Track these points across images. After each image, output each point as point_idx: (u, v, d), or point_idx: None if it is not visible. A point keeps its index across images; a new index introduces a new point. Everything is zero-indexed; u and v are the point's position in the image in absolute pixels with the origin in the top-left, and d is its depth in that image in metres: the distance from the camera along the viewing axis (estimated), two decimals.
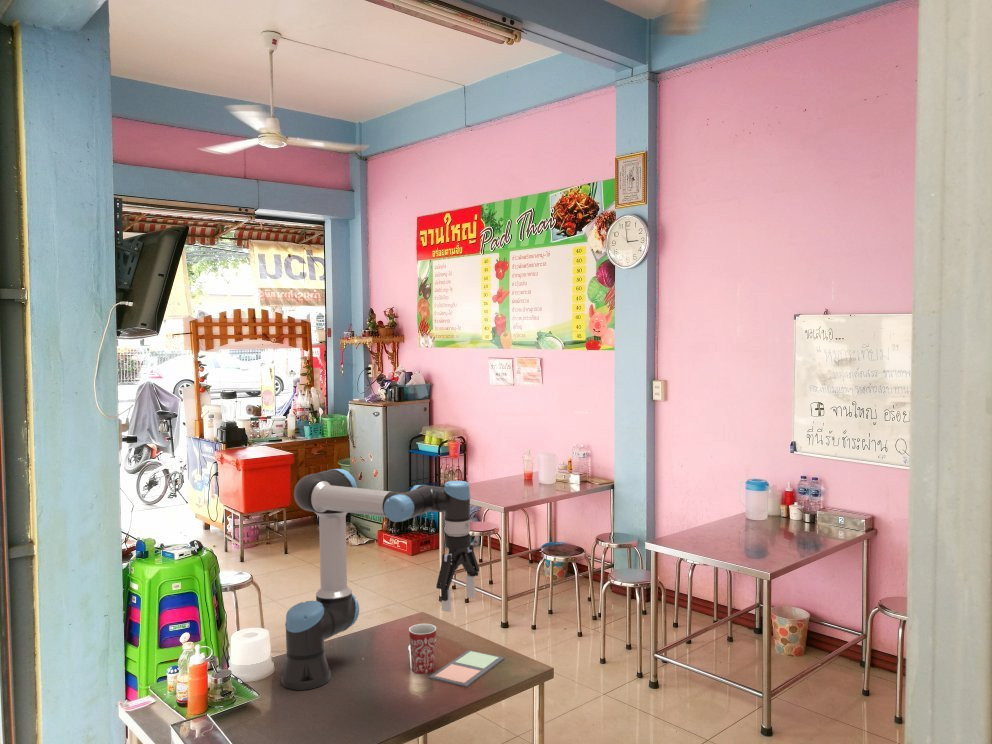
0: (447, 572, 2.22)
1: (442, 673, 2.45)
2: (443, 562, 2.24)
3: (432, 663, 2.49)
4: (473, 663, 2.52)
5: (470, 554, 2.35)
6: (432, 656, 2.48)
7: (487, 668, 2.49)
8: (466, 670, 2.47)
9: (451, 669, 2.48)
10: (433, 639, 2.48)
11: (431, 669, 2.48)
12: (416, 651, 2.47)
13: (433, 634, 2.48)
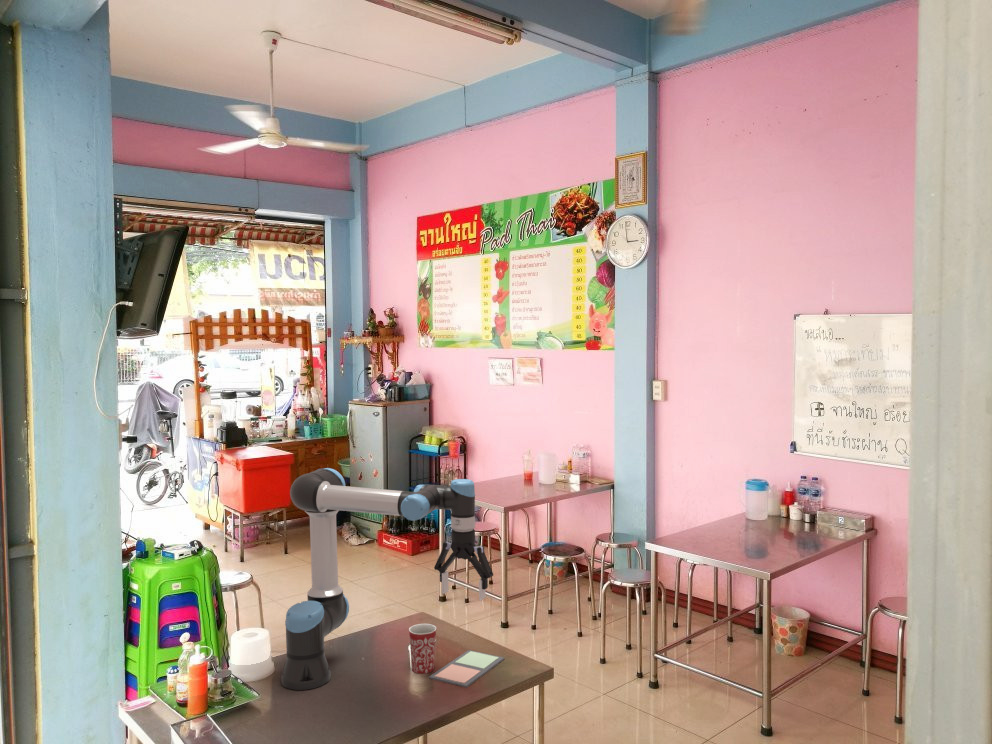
0: (440, 556, 2.45)
1: (442, 673, 2.45)
2: None
3: (432, 663, 2.49)
4: (473, 663, 2.52)
5: None
6: (432, 656, 2.48)
7: (487, 668, 2.49)
8: (466, 670, 2.47)
9: (451, 669, 2.48)
10: (433, 639, 2.48)
11: (431, 669, 2.48)
12: (416, 651, 2.47)
13: (433, 634, 2.48)
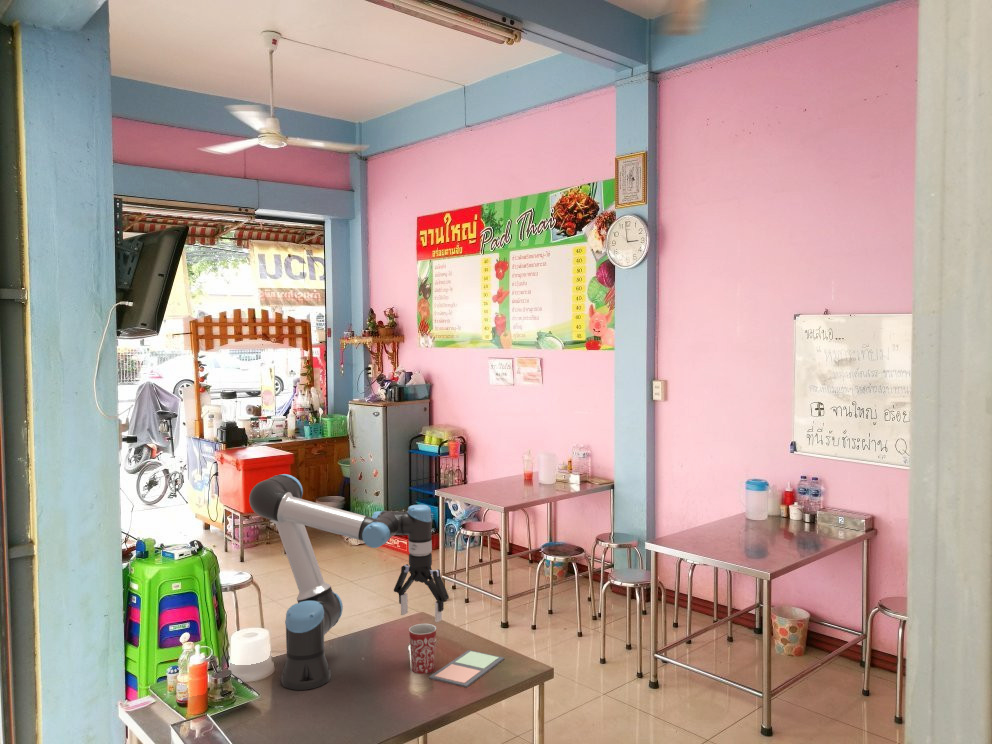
0: (399, 579, 2.54)
1: (442, 673, 2.45)
2: None
3: (432, 663, 2.49)
4: (473, 663, 2.52)
5: None
6: (432, 656, 2.48)
7: (487, 668, 2.49)
8: (466, 670, 2.47)
9: (451, 669, 2.48)
10: (433, 639, 2.48)
11: (431, 669, 2.48)
12: (416, 651, 2.47)
13: (433, 634, 2.48)
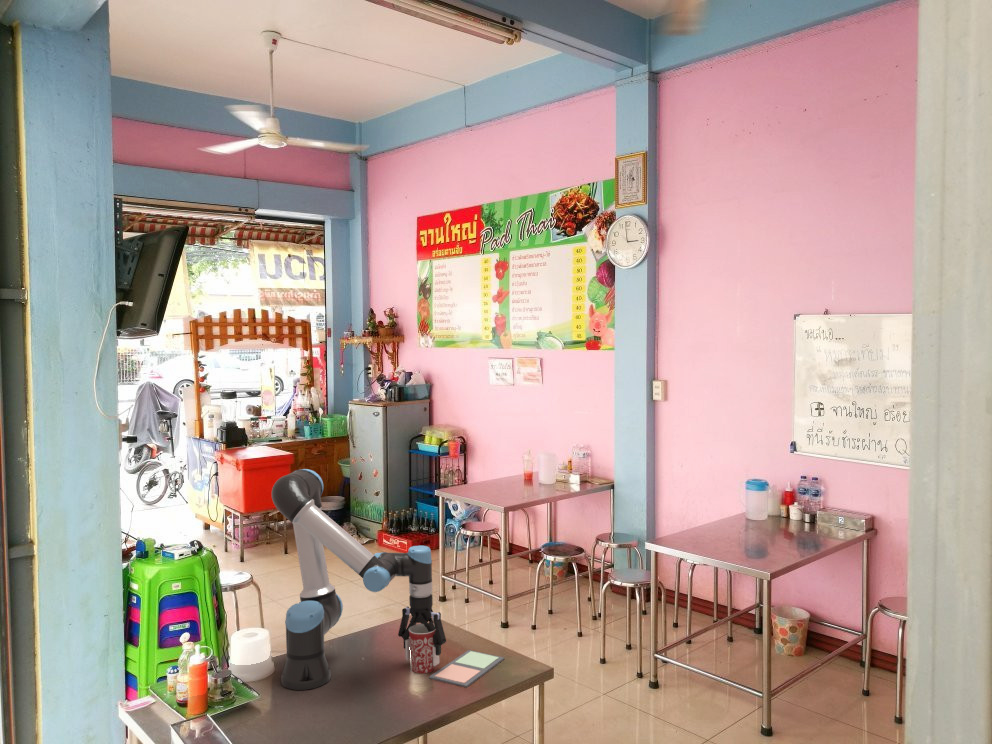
0: (402, 623, 2.54)
1: (442, 673, 2.45)
2: None
3: (432, 663, 2.49)
4: (473, 663, 2.52)
5: None
6: (432, 656, 2.48)
7: (487, 668, 2.49)
8: (466, 670, 2.47)
9: (451, 669, 2.48)
10: None
11: (431, 669, 2.48)
12: (416, 651, 2.47)
13: (433, 634, 2.48)
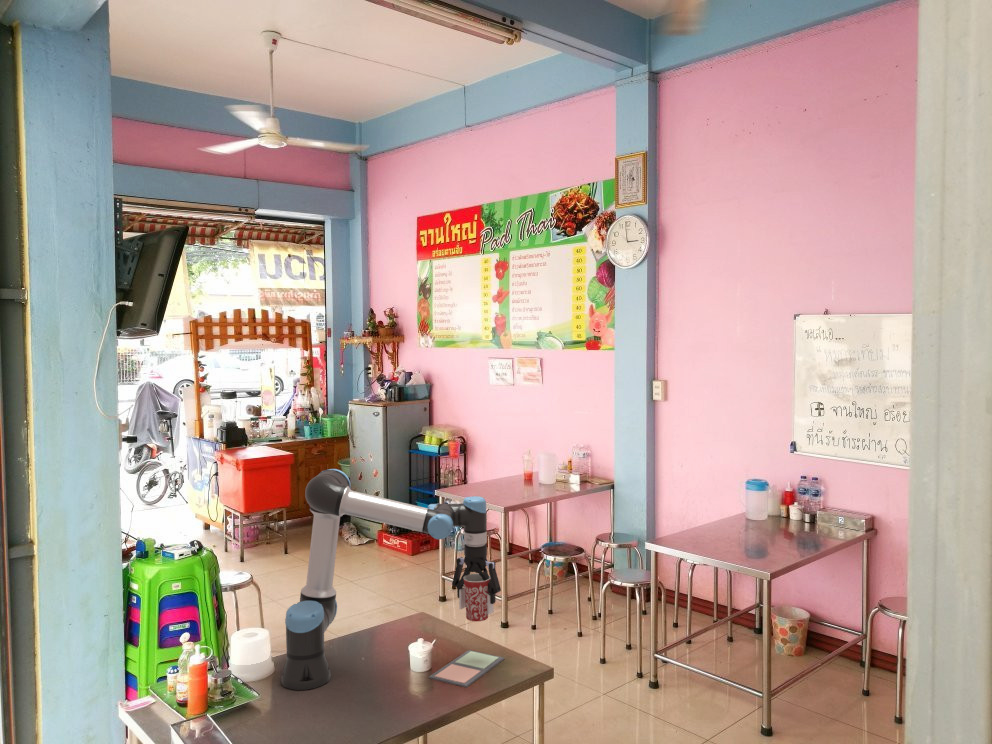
0: (456, 572, 2.57)
1: (442, 673, 2.45)
2: None
3: (486, 611, 2.52)
4: (473, 663, 2.52)
5: None
6: None
7: (487, 668, 2.49)
8: (466, 670, 2.47)
9: (451, 669, 2.48)
10: None
11: (486, 617, 2.51)
12: (471, 599, 2.50)
13: (488, 582, 2.51)
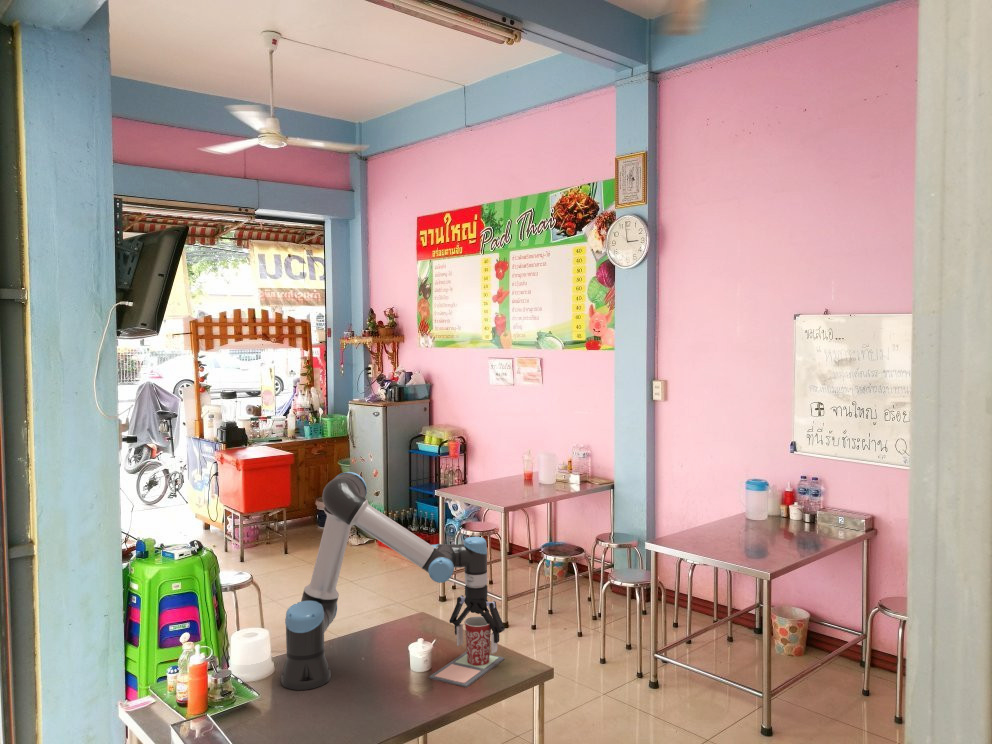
0: (455, 610, 2.58)
1: (442, 673, 2.45)
2: None
3: (488, 655, 2.52)
4: None
5: None
6: (488, 648, 2.52)
7: (487, 668, 2.49)
8: (466, 670, 2.47)
9: (451, 669, 2.48)
10: (489, 631, 2.52)
11: (487, 661, 2.52)
12: (472, 643, 2.50)
13: None
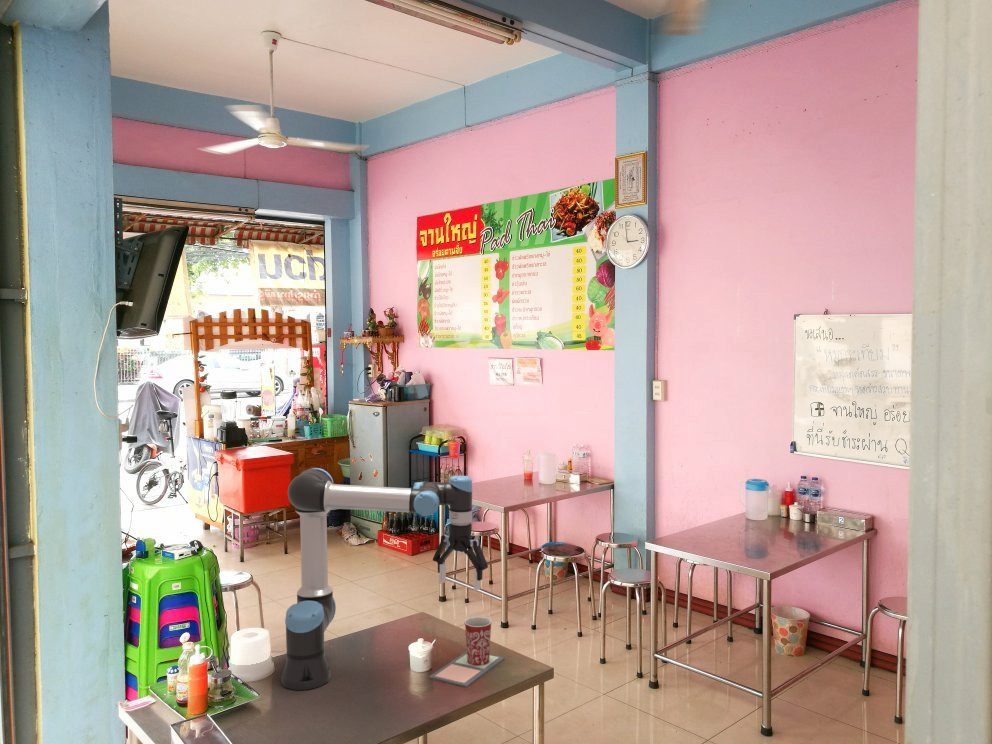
0: (438, 548, 2.58)
1: (442, 673, 2.45)
2: None
3: (488, 655, 2.52)
4: None
5: None
6: (488, 648, 2.52)
7: (487, 668, 2.49)
8: (466, 670, 2.47)
9: (451, 669, 2.48)
10: (489, 632, 2.52)
11: (487, 661, 2.52)
12: (472, 643, 2.50)
13: (489, 627, 2.52)
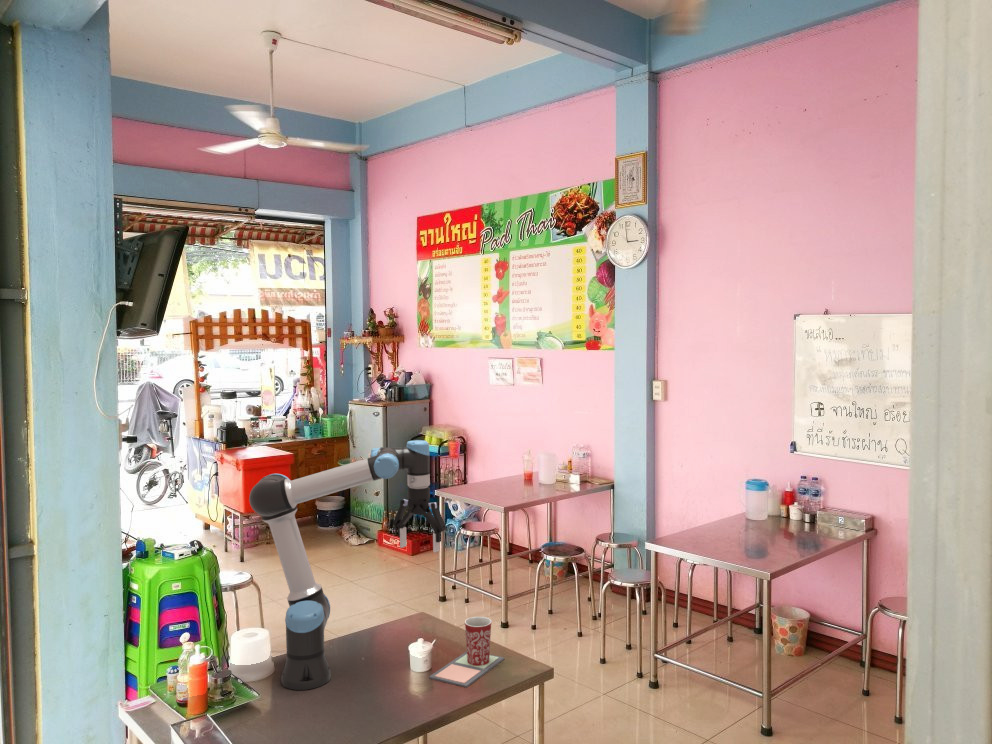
0: (398, 513, 2.62)
1: (442, 673, 2.45)
2: None
3: (488, 655, 2.52)
4: None
5: None
6: (488, 648, 2.52)
7: (487, 668, 2.49)
8: (466, 670, 2.47)
9: (451, 669, 2.48)
10: (489, 632, 2.52)
11: (487, 661, 2.52)
12: (472, 643, 2.50)
13: (489, 627, 2.52)
